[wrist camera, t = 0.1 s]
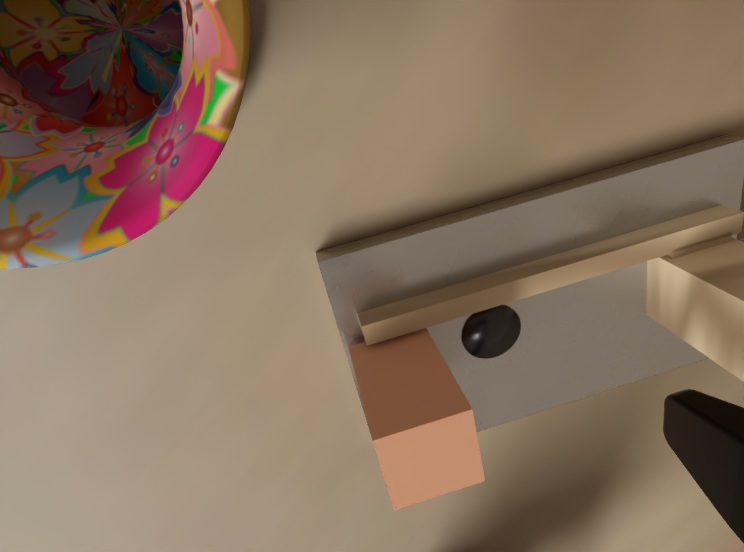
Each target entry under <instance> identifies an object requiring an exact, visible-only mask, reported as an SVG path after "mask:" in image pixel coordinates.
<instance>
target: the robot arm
mask: <svg viewBox="0 0 744 552" xmlns="http://www.w3.org/2000/svg"><path fill="white" fill-rule="evenodd" d="M663 431H664V436H665V438H666V440H667V442H668V444H669V446H670V447H671V448H672V450H673V451H674V452H675V454H676V455H677V457H678V458H679V459H680V461H681V462H682V463H683V465H684V466H685V467H686V469H687V470H688V472H689V473H690V474H691V476H692V477H693V478H694V480H695V481H696V482H697V484H698V485H699V487H700V488H701V489H702V491H703V492H704V493H705V495H706V496H707V497H708V499H709V500H710V501H711V503H712V504H713V506H714V507H715V508H716V510H717V511H718V512H719V514H720V515H721V516H722V518H723V519H724V520H725V521H726V523H727V524H728V525H729V527H730V528H731V529H732V530H733V531H734V532H735V534H736V535H737V536H738V537H739V538H740V540H741V541H742V542H743V543H744V408H743V407H740V406H737V405H735V404H732V403H729V402H726V401H723V400H721V399H718V398H715V397H712V396H709V395H707V394H704V393H701V392H698V391H695V390H691V389H687V390H683V391H680V392H677V393H674V394H671V395H669V396H667V397H666V399H665V403H664V423H663Z"/></svg>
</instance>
